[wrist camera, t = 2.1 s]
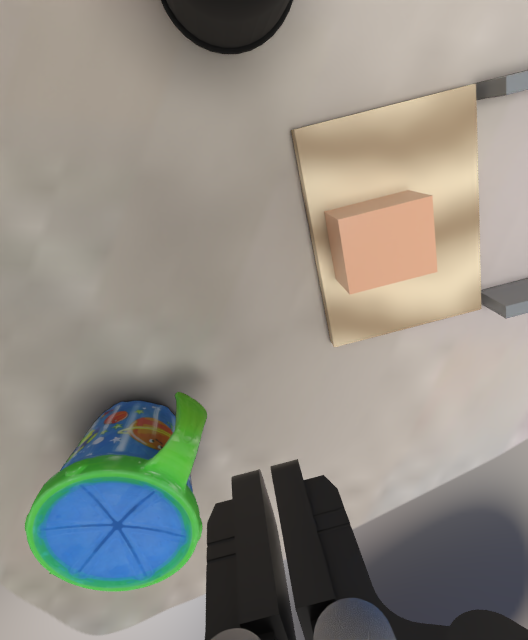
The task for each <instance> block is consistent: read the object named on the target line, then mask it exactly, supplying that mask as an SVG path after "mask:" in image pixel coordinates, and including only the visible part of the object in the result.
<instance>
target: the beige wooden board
mask: <svg viewBox="0 0 528 640" xmlns="http://www.w3.org/2000/svg"><path fill="white" fill-rule="evenodd" d="M291 133H292V138H293V143H294V149H295V154H296V159H297V165H298V170H299V175H300V181H301V186H302V191H303V197H304V202H305V208H306V213H307V218H308V224H309V229H310V234H311V240H312V245H313V250H314V256H315V261H316V266H317V272H318V277H319V282H320V288H321V293H322V298H323V304H324V309H325V314H326V320H327V325H328V330H329V336H330V341H331V343H332V344H333V346H334V347H338V346H341V345H345V344H349V343H353V342H357V341H361V340H365V339H368V338H372V337H376V336H380V335H384V334H388V333H391V332H395V331H399V330H403V329H407V328H411V327H414V326H418V325H422V324H426V323H430V322H434V321H438V320H441V319H445V318H449V317H453V316H457V315H461V314H464V313H468V312H472V311H476V310H480V309H481V274H480V232H479V190H478V149H477V107H476V84H472V85H467V86H463V87H459V88H455V89H451V90H448V91H444V92H440V93H436V94H432V95H428V96H424V97H420V98H416V99H412V100H408V101H404V102H400V103H396V104H392V105H388V106H384V107H380V108H376V109H373V110H369V111H365V112H361V113H357V114H353V115H349V116H345V117H341V118H337V119H333V120H329V121H325V122H321V123H317V124H313V125H309V126H305V127H301V128H297V129H294V130H291ZM406 190H410V191H415V192H419V193H423V194H428V195H432V196H433V211H434V226H435V241H436V256H437V271H438V272H435V273H431V274H428V275H424V276H420V277H416V278H412V279H408V280H404V281H400V282H397V283H393V284H389V285H385V286H381V287H377V288H373V289H370V290H366V291H362V292H358V293H354V294H349V293H348V292H347V291H346V290H345V289H344V288H343V287H342V286H341V285H340V283H339V282H338V281H337V280H336V279H335V273H334V267H333V261H332V255H331V249H330V243H329V238H328V232H327V226H326V220H325V214H324V211H328V210H332V209H336V208H340V207H344V206H348V205H352V204H355V203H359V202H363V201H367V200H371V199H375V198H379V197H383V196H387V195H391V194H394V193H398V192H402V191H406Z"/></svg>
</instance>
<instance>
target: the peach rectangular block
mask: <svg viewBox="0 0 528 640" xmlns="http://www.w3.org/2000/svg"><path fill="white" fill-rule="evenodd" d="M324 214H325V220H326V226H327V232H328V238H329V243H330V249H331V255H332V261H333V267H334V273H335V279H336V280H337V281H338V282H339V283H340V285H341V286H342V287H343V288H344V289H345V290H346V291H347V292H348V293H349V294H354V293H358V292H362V291H366V290H370V289H373V288H377V287H381V286H385V285H389V284H393V283H397V282H400V281H404V280H408V279H412V278H416V277H420V276H424V275H428V274H431V273H435V272H438V271H437V256H436V241H435V226H434V211H433V196H432V195H428V194H423V193H419V192H415V191H410V190H406V191H402V192H398V193H394V194H391V195H387V196H383V197H379V198H375V199H371V200H367V201H363V202H359V203H355V204H352V205H348V206H344V207H340V208H336V209H332V210H328V211H324Z"/></svg>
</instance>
